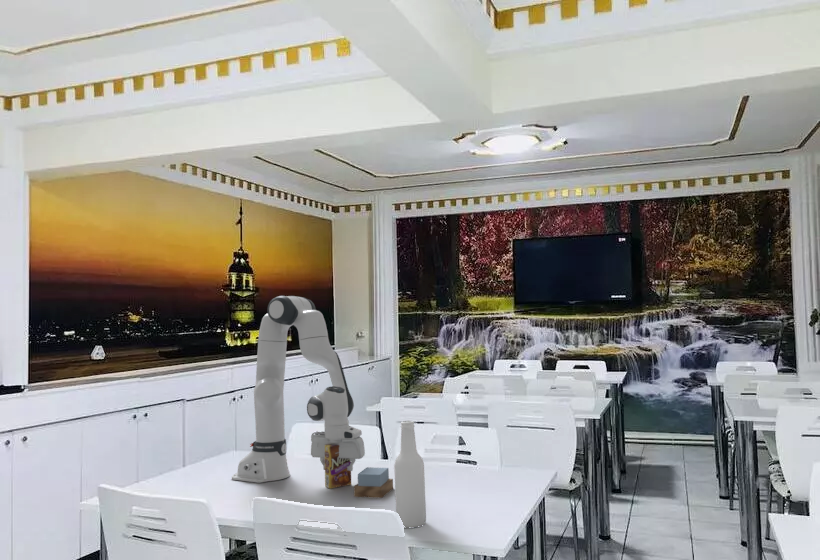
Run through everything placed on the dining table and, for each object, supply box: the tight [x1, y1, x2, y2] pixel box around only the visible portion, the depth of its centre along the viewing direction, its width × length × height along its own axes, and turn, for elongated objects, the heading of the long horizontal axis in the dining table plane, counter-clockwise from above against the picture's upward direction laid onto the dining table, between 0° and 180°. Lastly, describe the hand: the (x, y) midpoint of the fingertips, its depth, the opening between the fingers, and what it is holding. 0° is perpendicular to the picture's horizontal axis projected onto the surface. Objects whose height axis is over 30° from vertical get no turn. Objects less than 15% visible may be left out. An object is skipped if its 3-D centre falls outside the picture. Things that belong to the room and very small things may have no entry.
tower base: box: [353, 478, 394, 499], centre depth 240 cm, size 10×12×4 cm
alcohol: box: [393, 420, 427, 529], centre depth 204 cm, size 9×9×30 cm
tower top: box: [357, 466, 390, 487], centre depth 240 cm, size 8×10×4 cm
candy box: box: [324, 444, 352, 489], centre depth 251 cm, size 9×4×15 cm, turn 123°
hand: (338, 470), depth 251 cm, fingers open, 8 cm apart
